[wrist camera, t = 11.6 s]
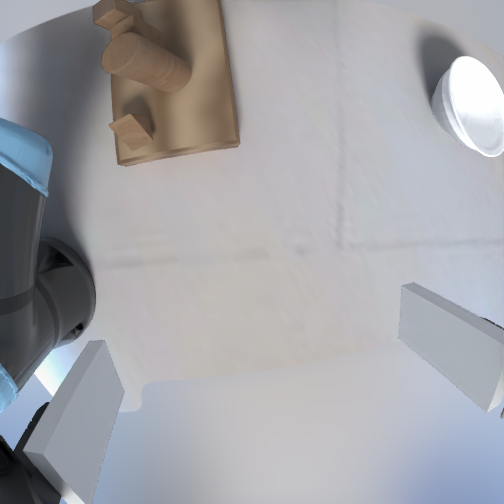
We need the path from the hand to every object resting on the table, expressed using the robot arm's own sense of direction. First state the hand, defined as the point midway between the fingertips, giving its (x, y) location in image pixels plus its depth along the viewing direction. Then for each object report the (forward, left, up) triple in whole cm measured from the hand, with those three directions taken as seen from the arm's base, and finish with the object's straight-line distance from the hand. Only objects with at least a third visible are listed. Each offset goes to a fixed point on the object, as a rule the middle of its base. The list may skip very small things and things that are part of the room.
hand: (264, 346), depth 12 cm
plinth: (-4, +22, -27) cm, 35 cm away
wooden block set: (-7, +22, -23) cm, 33 cm away
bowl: (+39, +16, -27) cm, 50 cm away
